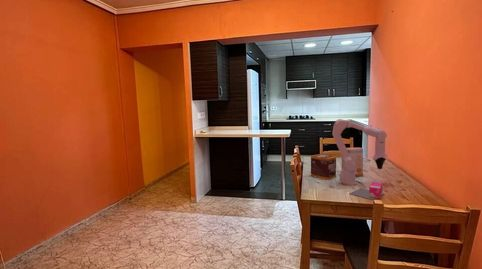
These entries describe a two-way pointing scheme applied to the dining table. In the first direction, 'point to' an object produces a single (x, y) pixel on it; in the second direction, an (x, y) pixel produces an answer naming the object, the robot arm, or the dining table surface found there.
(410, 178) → the dining table surface
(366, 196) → the mat
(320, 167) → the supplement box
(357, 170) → the cracker box
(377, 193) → the supplement box
